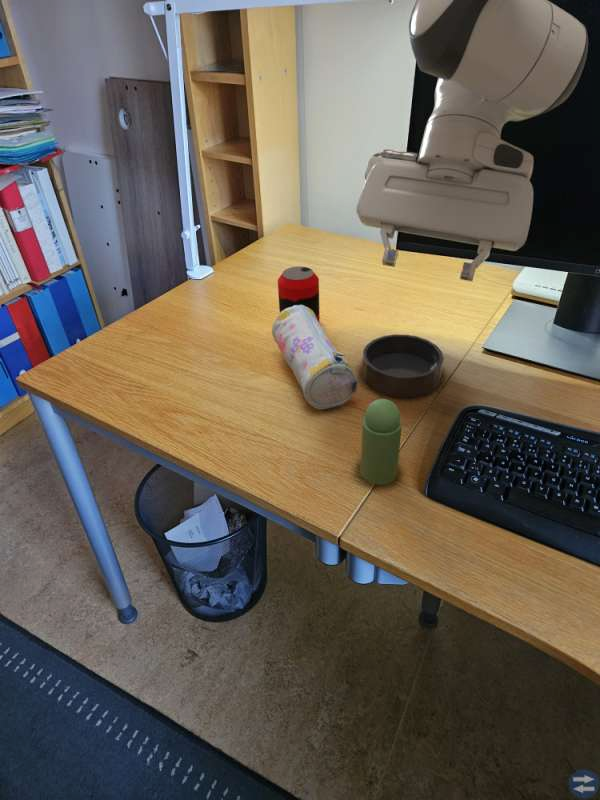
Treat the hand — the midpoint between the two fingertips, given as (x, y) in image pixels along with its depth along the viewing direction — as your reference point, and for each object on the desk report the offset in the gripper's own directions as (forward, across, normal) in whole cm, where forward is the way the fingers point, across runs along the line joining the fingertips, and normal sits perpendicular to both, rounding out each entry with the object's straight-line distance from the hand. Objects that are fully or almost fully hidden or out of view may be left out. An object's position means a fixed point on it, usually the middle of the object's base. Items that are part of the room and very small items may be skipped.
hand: (426, 272), depth 67 cm
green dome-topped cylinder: (+26, 0, +9) cm, 28 cm away
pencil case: (+16, -17, +24) cm, 34 cm away
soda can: (+8, -25, +36) cm, 44 cm away
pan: (+11, -3, +28) cm, 31 cm away
